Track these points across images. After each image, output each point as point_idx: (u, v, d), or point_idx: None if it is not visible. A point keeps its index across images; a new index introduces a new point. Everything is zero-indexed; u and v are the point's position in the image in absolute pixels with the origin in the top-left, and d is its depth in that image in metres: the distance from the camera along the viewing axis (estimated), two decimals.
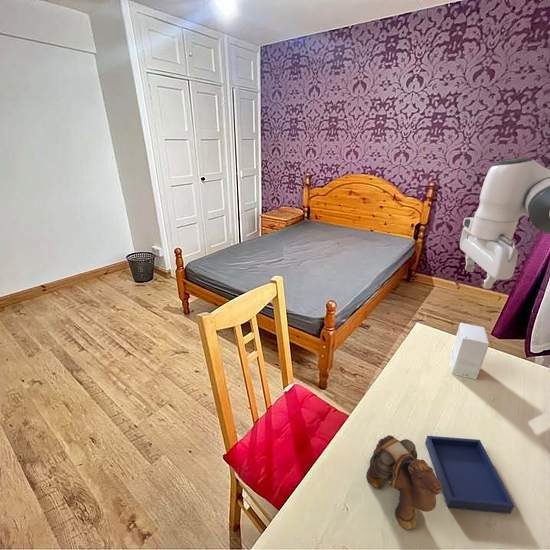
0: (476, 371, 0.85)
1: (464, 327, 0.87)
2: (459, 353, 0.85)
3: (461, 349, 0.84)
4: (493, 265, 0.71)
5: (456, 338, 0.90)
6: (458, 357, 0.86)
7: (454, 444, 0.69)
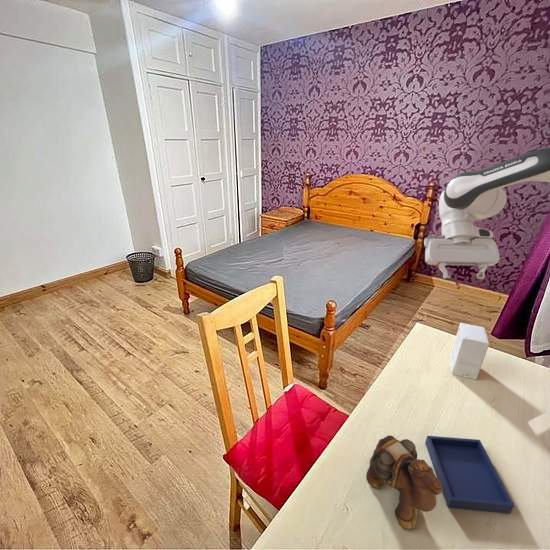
0: (476, 371, 0.85)
1: (464, 327, 0.87)
2: (459, 353, 0.85)
3: (461, 349, 0.84)
4: None
5: (456, 338, 0.90)
6: (458, 357, 0.86)
7: (454, 444, 0.69)
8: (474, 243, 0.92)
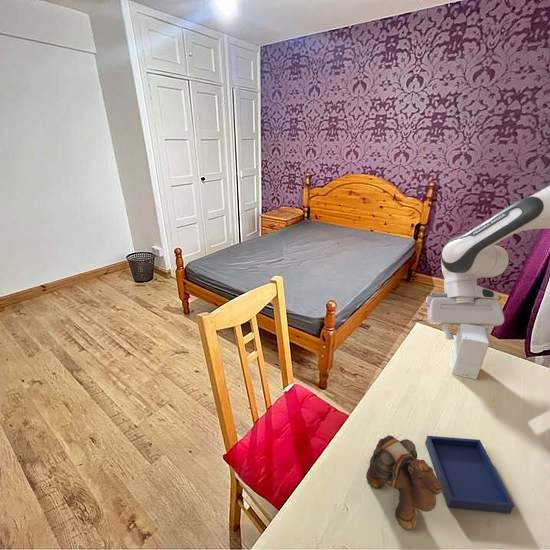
0: (476, 371, 0.85)
1: (464, 327, 0.87)
2: (459, 353, 0.85)
3: (461, 349, 0.84)
4: None
5: (456, 338, 0.90)
6: (458, 357, 0.86)
7: (454, 444, 0.69)
8: (477, 303, 0.89)
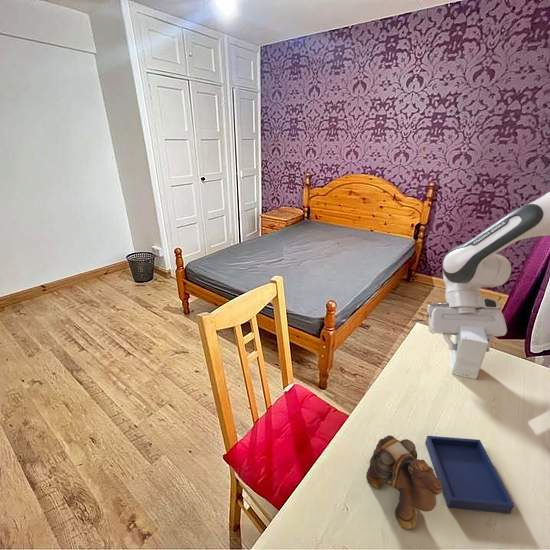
0: (476, 371, 0.85)
1: (463, 327, 0.87)
2: (458, 353, 0.85)
3: (460, 349, 0.84)
4: None
5: (456, 338, 0.90)
6: (458, 357, 0.86)
7: (454, 444, 0.69)
8: (480, 313, 0.88)
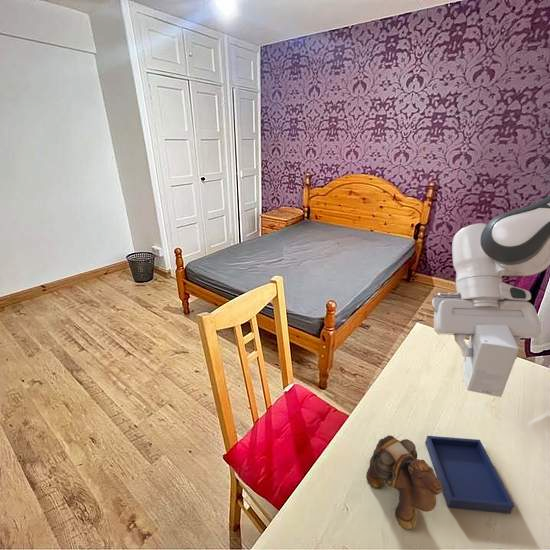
0: (501, 386, 0.62)
1: (481, 327, 0.64)
2: (477, 363, 0.62)
3: (479, 357, 0.61)
4: None
5: (470, 342, 0.67)
6: (476, 368, 0.63)
7: (454, 444, 0.69)
8: (503, 307, 0.65)
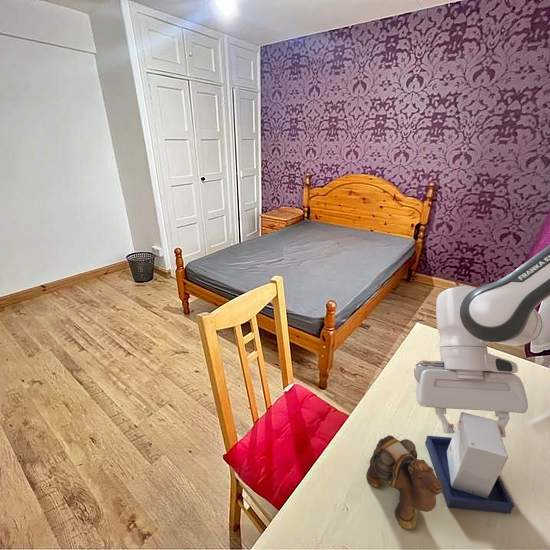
0: (487, 489, 0.58)
1: (468, 422, 0.60)
2: (462, 464, 0.57)
3: (465, 460, 0.57)
4: None
5: (456, 433, 0.63)
6: (461, 469, 0.58)
7: None
8: (489, 380, 0.61)
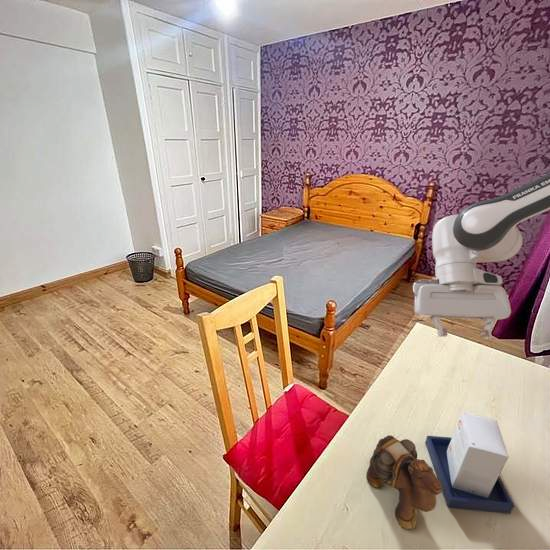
0: (488, 488, 0.58)
1: (468, 421, 0.60)
2: (463, 464, 0.57)
3: (466, 460, 0.57)
4: None
5: (456, 433, 0.63)
6: (462, 469, 0.58)
7: None
8: (477, 291, 0.71)
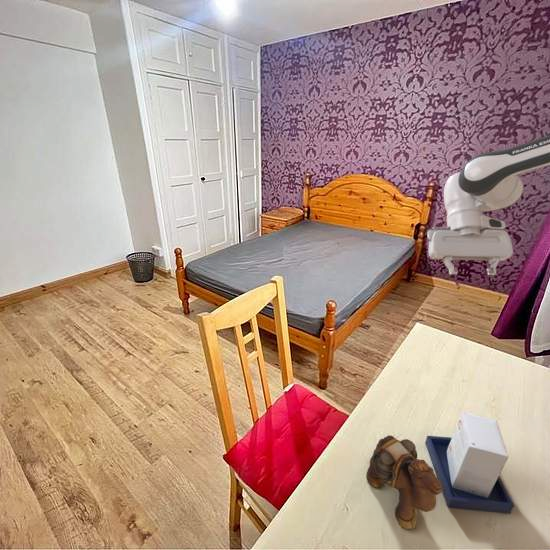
0: (488, 488, 0.58)
1: (468, 421, 0.60)
2: (463, 464, 0.57)
3: (466, 460, 0.57)
4: None
5: (456, 433, 0.63)
6: (462, 469, 0.58)
7: None
8: (484, 235, 0.82)
